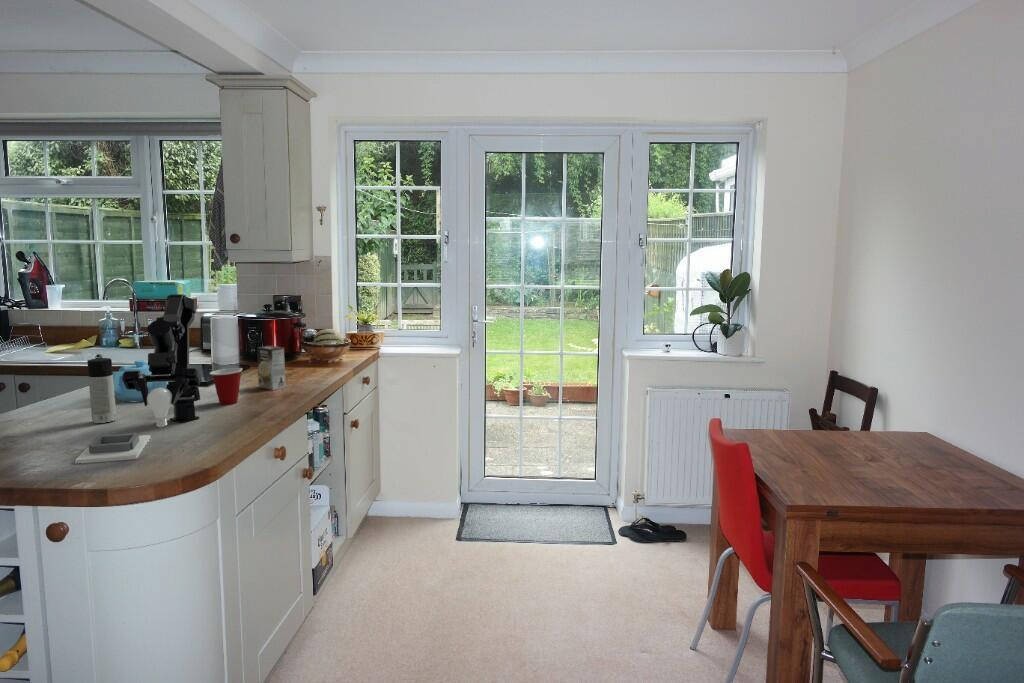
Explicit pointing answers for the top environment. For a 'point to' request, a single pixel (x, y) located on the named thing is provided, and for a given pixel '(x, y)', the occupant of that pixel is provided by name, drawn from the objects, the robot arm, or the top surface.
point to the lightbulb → (160, 404)
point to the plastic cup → (227, 384)
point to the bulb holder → (113, 448)
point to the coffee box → (271, 367)
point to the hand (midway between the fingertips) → (159, 404)
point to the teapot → (132, 394)
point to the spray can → (101, 390)
